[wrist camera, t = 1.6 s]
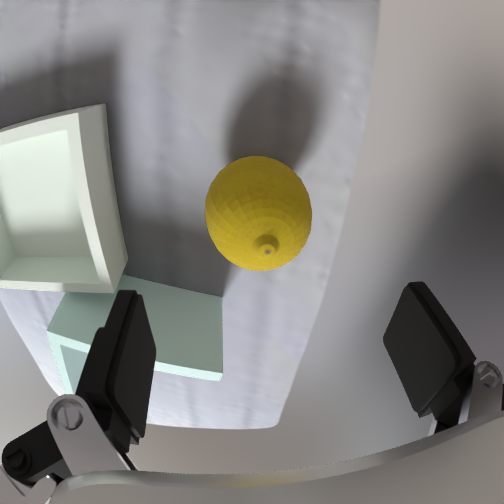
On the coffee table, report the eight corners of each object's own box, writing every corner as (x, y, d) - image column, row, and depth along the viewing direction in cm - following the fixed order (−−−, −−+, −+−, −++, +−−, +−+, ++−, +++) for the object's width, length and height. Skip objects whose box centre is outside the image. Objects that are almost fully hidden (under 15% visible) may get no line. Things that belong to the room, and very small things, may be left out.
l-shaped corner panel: (88, 349, 28) (70, 407, 21) (82, 262, 22) (46, 330, 15) (193, 373, 31) (191, 434, 24) (222, 296, 24) (223, 373, 18)
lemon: (230, 232, 21) (233, 315, 14) (194, 162, 18) (175, 223, 11) (304, 203, 20) (342, 275, 14) (277, 128, 17) (310, 168, 11)
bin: (-16, 134, 14) (-49, 151, 11) (106, 102, 15) (77, 112, 12) (17, 259, 21) (-4, 287, 17) (128, 258, 22) (114, 293, 18)
